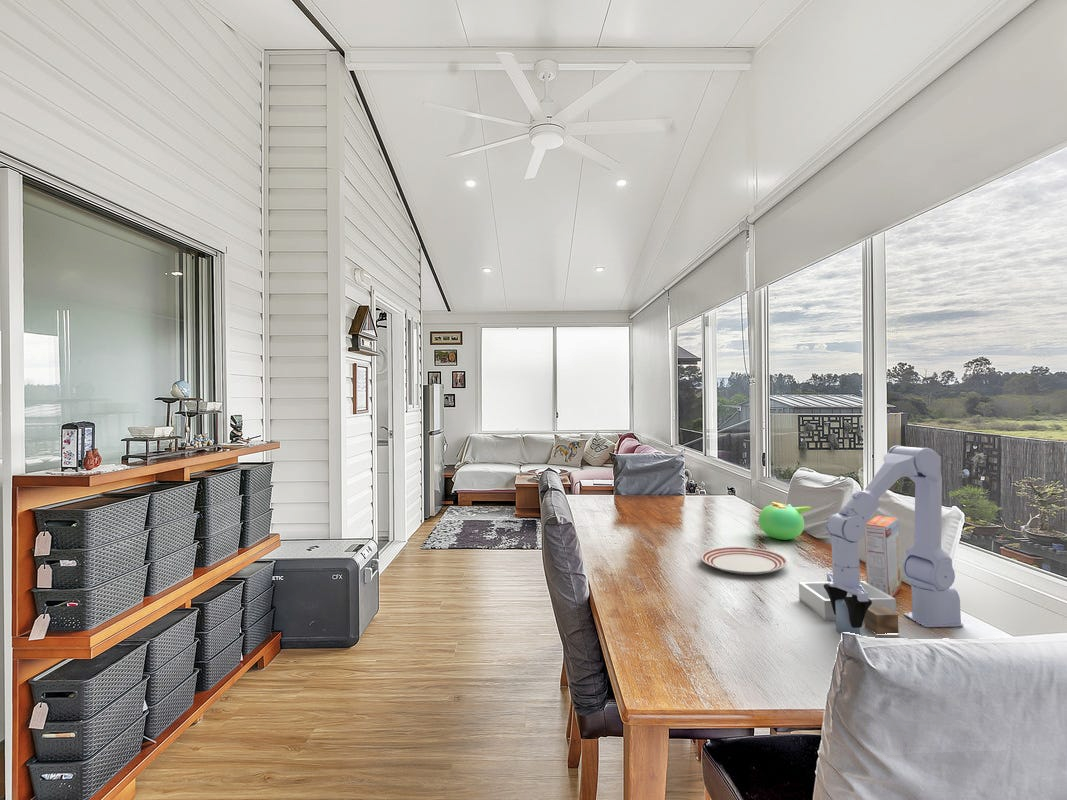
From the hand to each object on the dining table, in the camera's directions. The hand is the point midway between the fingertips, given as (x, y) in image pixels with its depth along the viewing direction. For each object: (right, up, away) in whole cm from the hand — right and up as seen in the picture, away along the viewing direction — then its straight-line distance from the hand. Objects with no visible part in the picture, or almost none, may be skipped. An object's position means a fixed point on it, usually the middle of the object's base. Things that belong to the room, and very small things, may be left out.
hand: (847, 620), depth 132 cm
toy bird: (+24, -2, +87) cm, 90 cm away
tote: (+7, -3, +14) cm, 16 cm away
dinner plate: (-5, -4, +53) cm, 53 cm away
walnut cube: (+8, -3, 0) cm, 9 cm away
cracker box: (+25, -2, +25) cm, 35 cm away
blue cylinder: (0, -3, 0) cm, 3 cm away
